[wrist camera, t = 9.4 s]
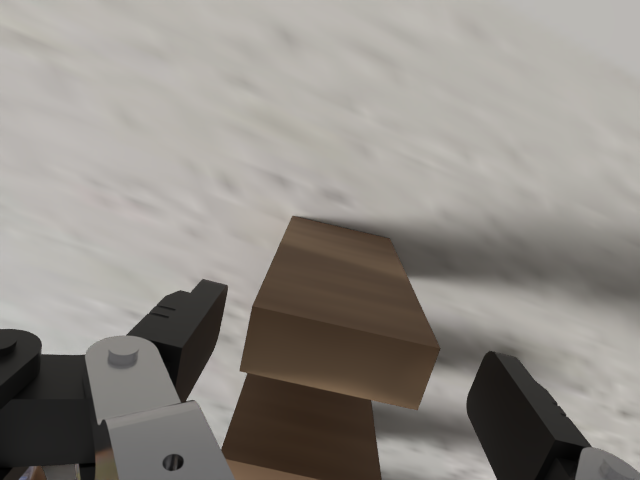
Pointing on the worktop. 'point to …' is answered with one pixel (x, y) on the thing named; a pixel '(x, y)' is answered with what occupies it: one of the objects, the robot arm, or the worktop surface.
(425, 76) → the worktop surface
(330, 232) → the end tile
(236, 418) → the tile
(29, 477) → the tin
